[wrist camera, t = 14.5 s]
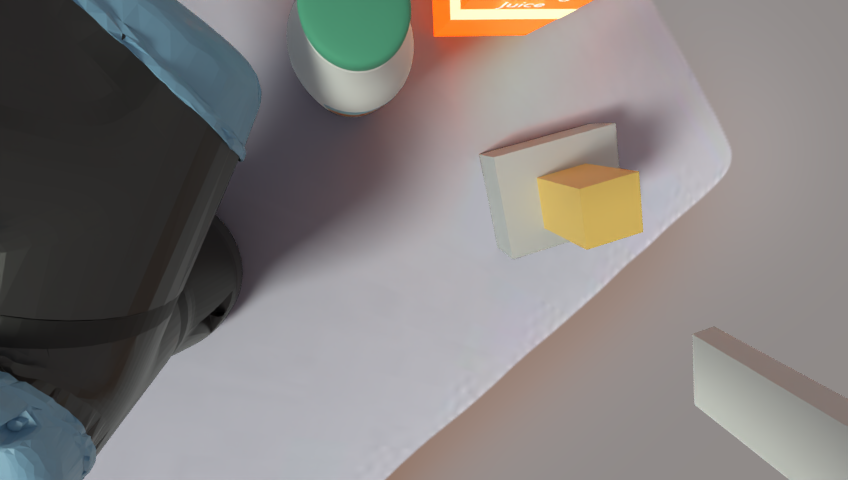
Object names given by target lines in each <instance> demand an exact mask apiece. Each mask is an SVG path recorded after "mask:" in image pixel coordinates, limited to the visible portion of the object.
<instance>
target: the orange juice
mask: <svg viewBox="0 0 848 480" xmlns="http://www.w3.org/2000/svg"><path fill="white" fill-rule="evenodd" d="M591 1H593V0H432V2H433V27H434V37H443V36H506V35H527V34H529V33H531V32H532V31H534V30H536V29H538V28H540V27H542V26H544V25H546V24H548V23H550V22H552V21H554V20H556V19H559V18H561V17H563V16H565V15H567V14H569V13H571V12H573V11H575V10H577V8H579V7H581V6H583V5H585V4H587V3H589V2H591Z"/></svg>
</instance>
